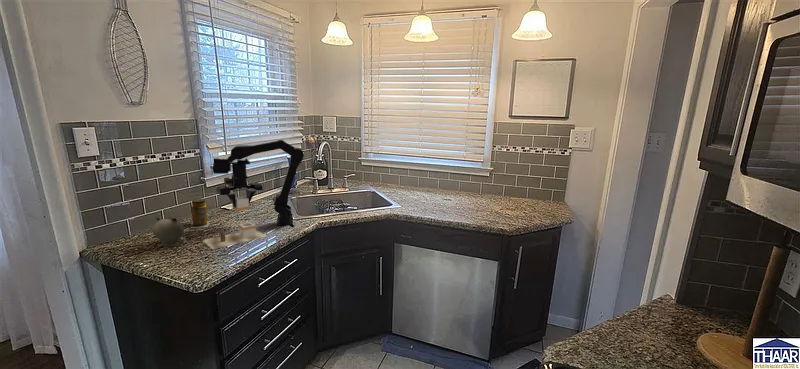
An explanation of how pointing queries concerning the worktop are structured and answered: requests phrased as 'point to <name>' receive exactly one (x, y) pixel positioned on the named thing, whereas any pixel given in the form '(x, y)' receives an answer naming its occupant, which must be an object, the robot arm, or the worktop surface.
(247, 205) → the sleeve
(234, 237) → the pin board
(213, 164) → the robot arm
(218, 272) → the worktop surface
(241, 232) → the seated sleeve
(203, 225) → the condiment
